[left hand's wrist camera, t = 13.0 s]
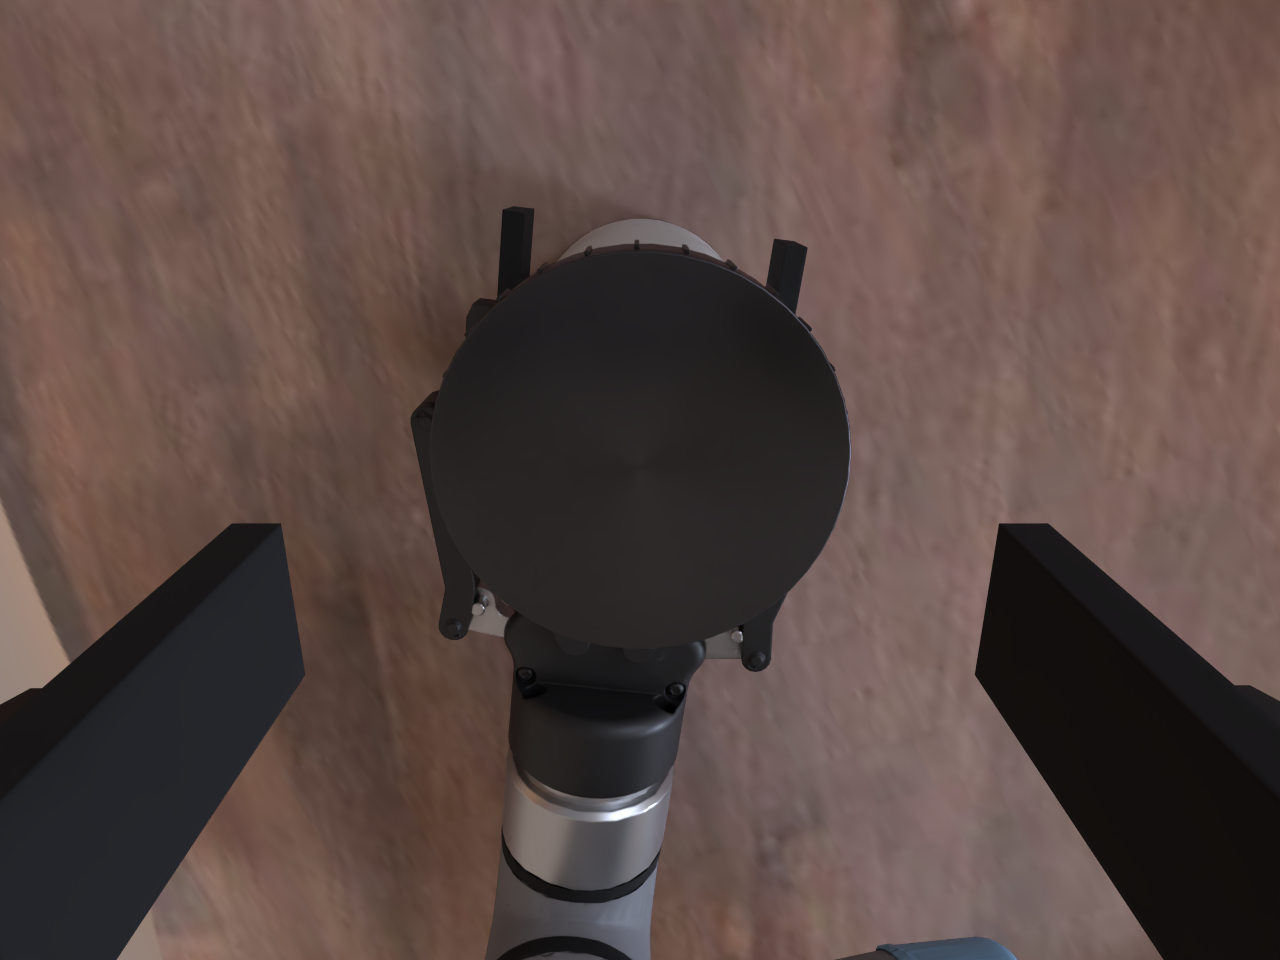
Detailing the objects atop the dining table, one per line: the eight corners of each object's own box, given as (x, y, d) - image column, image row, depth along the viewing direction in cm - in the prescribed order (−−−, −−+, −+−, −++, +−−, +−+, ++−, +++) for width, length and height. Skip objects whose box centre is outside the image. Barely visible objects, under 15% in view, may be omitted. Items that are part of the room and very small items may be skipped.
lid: (502, 180, 19) (488, 181, 17) (900, 318, 20) (925, 333, 18) (405, 554, 22) (385, 587, 20) (752, 656, 23) (761, 695, 21)
